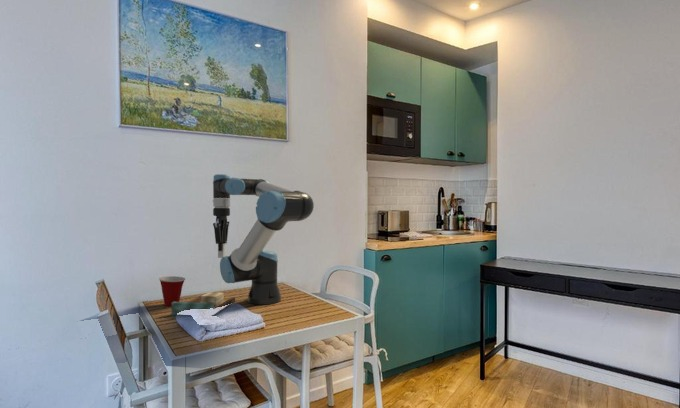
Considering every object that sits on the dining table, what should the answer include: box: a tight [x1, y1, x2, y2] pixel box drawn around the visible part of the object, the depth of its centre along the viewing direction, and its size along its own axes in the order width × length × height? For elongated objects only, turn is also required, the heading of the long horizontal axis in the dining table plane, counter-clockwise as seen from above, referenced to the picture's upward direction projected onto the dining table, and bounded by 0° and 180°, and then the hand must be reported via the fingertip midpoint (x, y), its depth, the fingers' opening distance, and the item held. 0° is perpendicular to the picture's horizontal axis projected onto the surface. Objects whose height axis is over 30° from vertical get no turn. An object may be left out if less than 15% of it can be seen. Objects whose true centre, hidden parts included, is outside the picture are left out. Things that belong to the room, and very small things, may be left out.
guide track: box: [171, 295, 236, 316], centre depth 170 cm, size 17×24×5 cm
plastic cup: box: [158, 275, 186, 307], centre depth 176 cm, size 11×11×12 cm
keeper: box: [200, 291, 225, 307], centre depth 177 cm, size 7×7×4 cm
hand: (221, 257), depth 186 cm, fingers closed
